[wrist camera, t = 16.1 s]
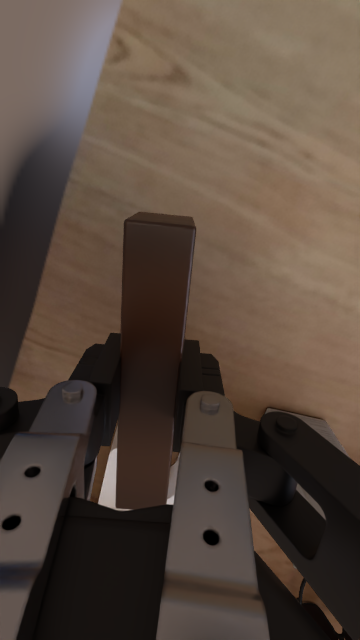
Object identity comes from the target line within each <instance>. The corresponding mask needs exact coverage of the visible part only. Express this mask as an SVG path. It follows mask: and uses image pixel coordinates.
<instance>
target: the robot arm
mask: <svg viewBox="0 0 360 640" xmlns="http://www.w3.org/2000/svg"><path fill="white" fill-rule="evenodd" d="M120 336H121V334H120V333H110V335H109V337H108V339H107V341H106V343H105V344H94V345H93V346H91V347H89V348H88V349H86V351H85V353H84V354H83V356H82V358H81V359H80V361H79V364H77V366H76V368H75V370H74V371H73V373H72V375H71V376H70V378H69V380H68V381H64V382H61V383H58V384H56V385H55V386H53V387H52V388H51V389H50V390H49V392H48V394H47V396H46V398H44V399H39V400H32V401H23V402H18V398H17V394H16V392H15V391H13V390H11V389H9V388H5V387H0V640H331V639H330V638H329V637H328V636H327V634H326V633H325V632H324V631H323V630H322V629H321V627H320V626H319V625H318V624H317V623H316V622H315V620H314V619H313V618H312V617H311V616H310V615H309V613H308V612H307V611H306V610H305V609H304V608H303V606H302V605H301V604H300V603H299V602H298V601H297V599H296V598H295V597H294V596H293V595H292V594H291V592H290V591H289V590H288V589H287V588H286V587H285V585H284V584H283V583H282V582H281V581H280V580H279V579H278V577H277V576H276V575H275V574H274V573H273V572H272V570H271V569H270V568H269V567H268V566H267V565H266V563H265V562H264V561H263V560H262V559H261V558H260V556H259V555H258V554H257V553H256V552H255V551H254V547H253V538H252V529H251V520H250V511H249V508H250V509H251V511H252V512H253V513H254V514H255V516H256V517H257V518H258V520H259V521H260V522H261V523H262V525H263V526H264V527H265V529H266V530H267V531H268V532H269V534H270V535H271V536H272V538H273V539H274V540H275V541H276V543H277V544H278V545H279V546H280V548H281V549H282V550H283V552H284V553H285V554H286V555H287V557H288V558H289V559H290V561H291V562H292V563H293V564H294V566H295V567H296V568H297V569H298V571H299V572H300V573H301V575H302V576H303V577H304V578H305V580H306V581H307V582H308V584H309V585H310V586H311V587H312V589H313V590H314V591H315V593H316V594H317V595H318V596H319V598H320V599H321V600H322V601H323V603H324V604H325V605H326V607H327V608H328V609H329V610H330V612H331V613H332V614H333V616H334V617H335V618H336V619H337V621H338V622H339V623H340V624H341V626H342V627H343V628H344V630H345V631H346V632H347V633H348V635H349V636H350V637H351V639H352V640H360V466H359V465H358V464H357V463H355V462H354V461H353V460H352V459H350V458H349V457H348V456H347V455H345V454H344V453H343V452H342V451H340V450H339V449H338V448H337V447H335V446H334V445H333V444H332V443H330V442H329V441H328V440H326V439H325V438H324V437H323V436H321V435H320V434H319V433H318V432H316V431H315V430H314V429H313V428H311V427H310V426H309V425H308V424H306V423H305V422H304V421H303V420H301V419H300V418H298V417H296V416H294V415H292V414H289V413H285V412H280V411H273V412H268V413H266V414H264V415H263V416H262V417H261V420H260V422H259V421H256V420H253V419H249V418H246V417H244V416H241V415H239V414H238V413H236V412H235V411H233V405H232V403H231V401H230V400H229V399H228V398H226V397H225V394H224V389H223V384H222V379H221V374H220V370H219V369H220V368H219V363H218V361H217V360H216V358H215V357H214V356H213V355H212V354H205V353H200V347H199V341H197V340H186V339H184V347H183V357H182V362H180V368H179V377H178V386H177V395H176V405H175V414H174V431H173V452H180V456H179V464H178V472H177V480H176V488H175V496H174V503H173V505H169V504H166V505H159V506H153V507H147V508H140V509H134V510H128V511H118V510H115V509H112V508H109V507H106V506H103V505H100V504H97V503H94V502H91V501H90V496H91V491H92V486H93V481H94V476H95V471H96V466H97V455H98V453H99V450H100V446H110V444H111V441H112V437H113V433H114V430H115V426H116V423H117V419H118V416H119V401H120V371H121V357H120ZM297 484H299V485H300V486H301V487H302V488H303V489H304V490H305V491H306V492H307V493H308V494H309V495H310V496H311V497H312V498H313V499H314V500H315V501H316V502H317V503H318V504H319V506H320V507H321V509H322V510H323V512H324V515H325V518H326V520H325V519H324V518H323V517H322V516H321V515H320V514H319V513H318V511H317V510H316V509H315V508H314V507H313V506H312V505H311V504H310V503H309V502H308V501H307V500H306V499H305V498H304V497H303V496H302V495H301V494H300V493H299V492H298V491H297V490H296V487H297Z"/></svg>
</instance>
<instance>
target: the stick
mask: <svg viewBox="0 0 360 640" xmlns="http://www.w3.org/2000/svg"><path fill="white" fill-rule="evenodd" d="M195 237H196V226H195V223H194V220H193V218H192V217H187V216H177V215H167V214H157V213H147V212H138V213H136V214H134V215H133V216H131V217H129V218H127V219H126V220H125V221H124V239H123V272H122V304H121V336H120V357H121V371H120V401H119V416H118V434H117V466H116V499H115V506H116V508H117V509H130V510H134V509H140V508H147V507H153V506H159V505H166V504H167V495H168V486H169V476H170V467H171V458H172V449H173V431H174V414H175V405H176V395H177V386H178V377H179V368H180V362H182V357H183V347H184V338H185V329H186V320H187V311H188V301H189V292H190V283H191V274H192V264H193V255H194V246H195Z"/></svg>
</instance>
